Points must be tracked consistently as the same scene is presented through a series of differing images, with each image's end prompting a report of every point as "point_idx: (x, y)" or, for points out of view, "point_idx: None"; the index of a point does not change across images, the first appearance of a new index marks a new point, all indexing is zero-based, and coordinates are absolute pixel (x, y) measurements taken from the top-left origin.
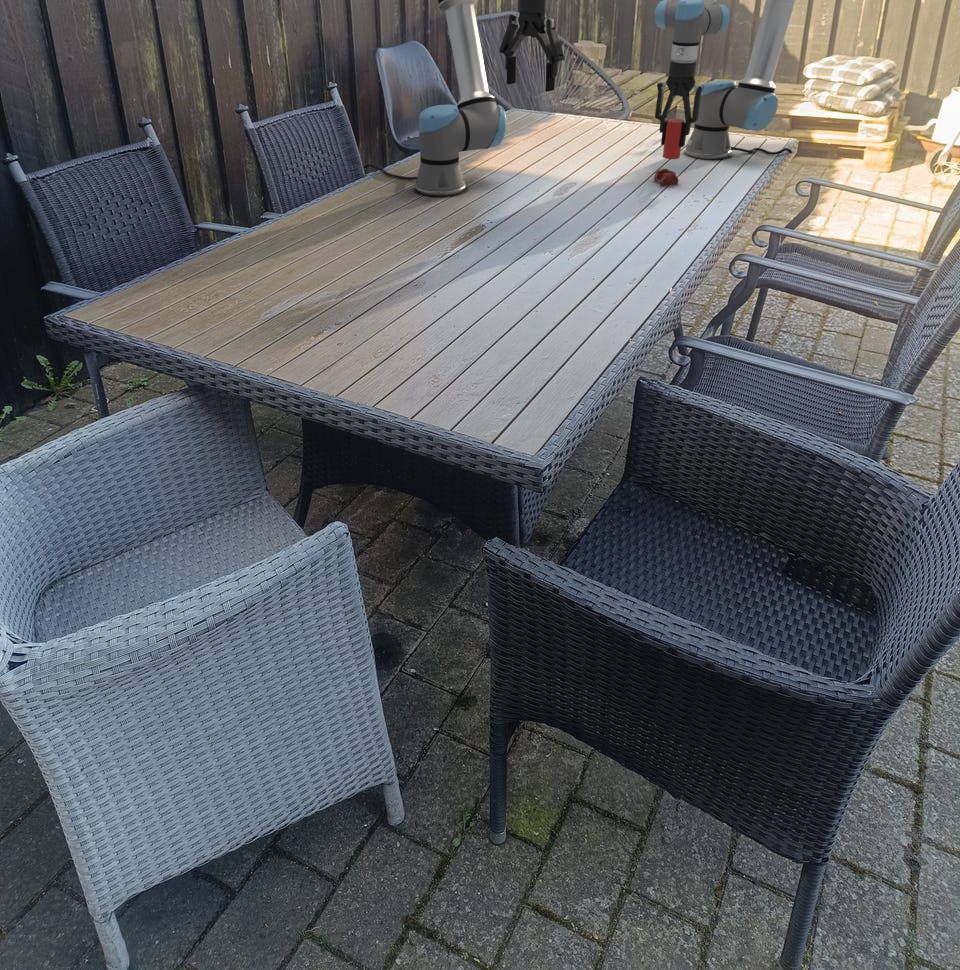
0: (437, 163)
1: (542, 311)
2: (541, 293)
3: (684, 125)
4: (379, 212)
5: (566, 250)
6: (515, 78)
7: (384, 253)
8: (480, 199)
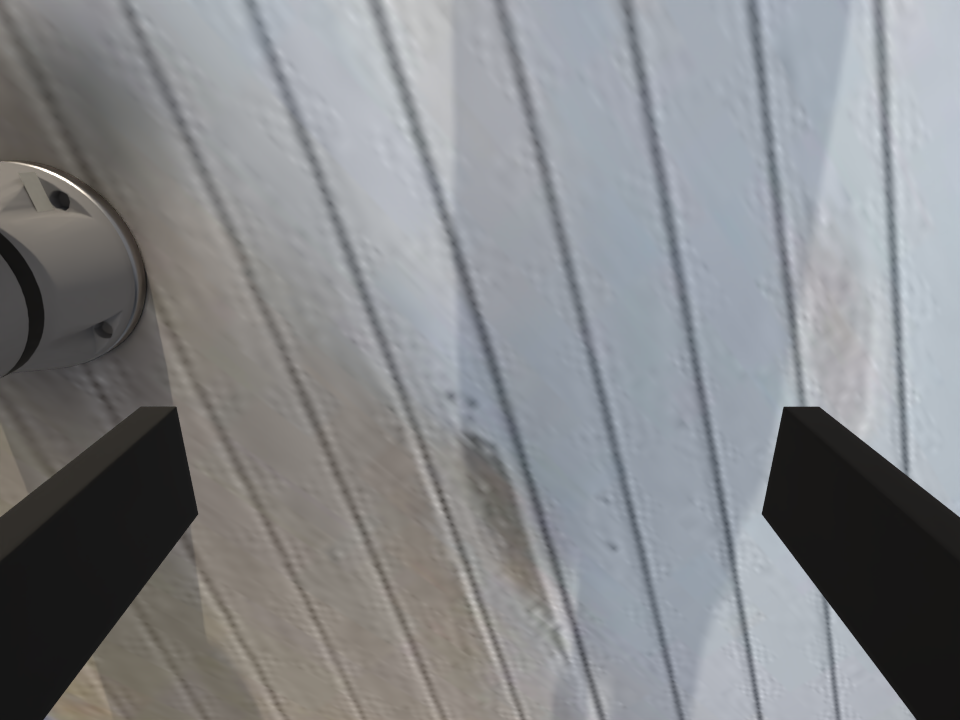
0: (21, 364)
1: None
2: None
3: None
4: None
5: None
6: (148, 435)
7: (443, 715)
8: (248, 246)
